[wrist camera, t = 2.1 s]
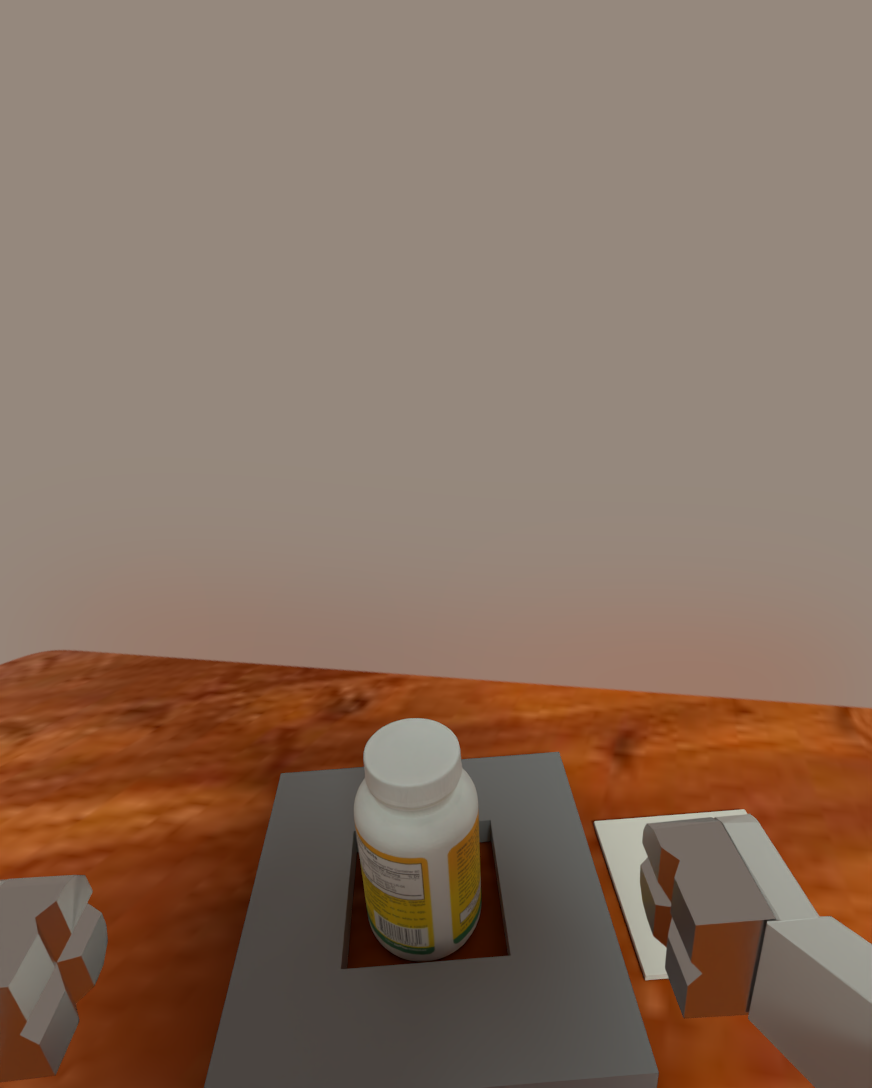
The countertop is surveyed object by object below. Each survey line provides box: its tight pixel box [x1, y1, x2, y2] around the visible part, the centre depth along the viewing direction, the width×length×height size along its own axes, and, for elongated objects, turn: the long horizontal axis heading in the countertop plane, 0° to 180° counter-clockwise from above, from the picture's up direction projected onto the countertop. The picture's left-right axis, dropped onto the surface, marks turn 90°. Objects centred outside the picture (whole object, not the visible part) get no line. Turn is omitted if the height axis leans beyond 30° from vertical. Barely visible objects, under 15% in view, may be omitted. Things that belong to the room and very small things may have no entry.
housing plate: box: [204, 752, 659, 1088], centre depth 30 cm, size 16×16×2 cm
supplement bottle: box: [354, 718, 482, 962], centre depth 28 cm, size 5×5×10 cm
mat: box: [594, 809, 747, 980], centre depth 30 cm, size 8×8×1 cm
